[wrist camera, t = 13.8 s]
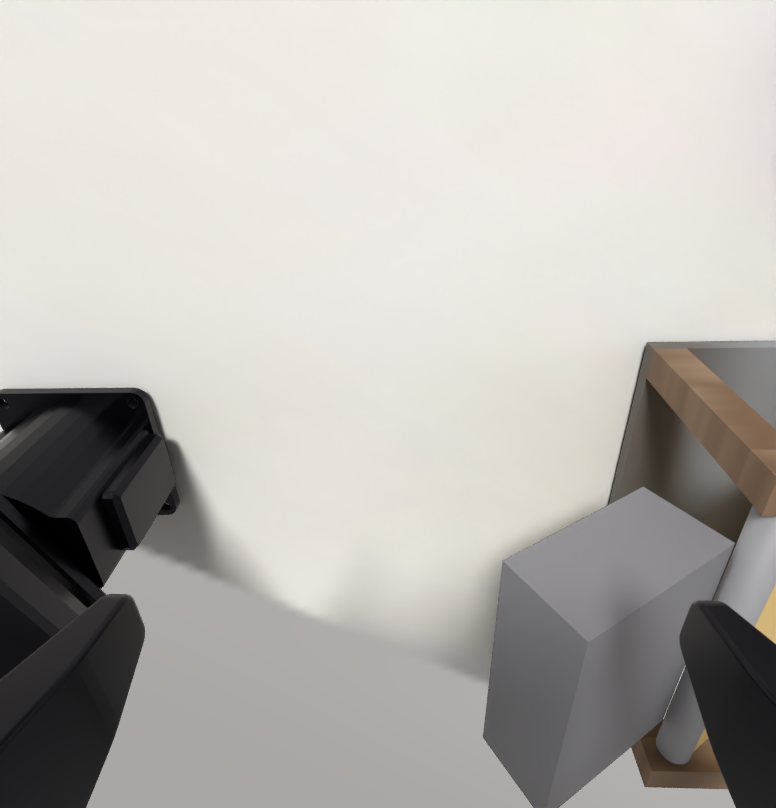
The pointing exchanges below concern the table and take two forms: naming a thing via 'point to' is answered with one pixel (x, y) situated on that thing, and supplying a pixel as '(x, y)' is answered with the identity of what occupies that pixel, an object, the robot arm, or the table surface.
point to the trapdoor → (612, 638)
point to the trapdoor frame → (701, 469)
